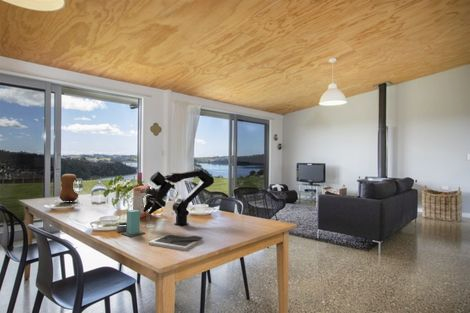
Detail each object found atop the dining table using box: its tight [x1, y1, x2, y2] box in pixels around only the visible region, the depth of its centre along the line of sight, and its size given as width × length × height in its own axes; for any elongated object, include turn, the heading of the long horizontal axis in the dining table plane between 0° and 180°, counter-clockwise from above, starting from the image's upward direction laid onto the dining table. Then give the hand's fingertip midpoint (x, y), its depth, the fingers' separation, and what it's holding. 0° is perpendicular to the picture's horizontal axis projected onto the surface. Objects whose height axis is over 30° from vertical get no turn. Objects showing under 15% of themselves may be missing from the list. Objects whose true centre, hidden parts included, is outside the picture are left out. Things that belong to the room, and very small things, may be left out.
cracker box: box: [132, 185, 152, 219], centre depth 195 cm, size 14×6×21 cm, turn 168°
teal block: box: [126, 209, 141, 235], centre depth 152 cm, size 5×5×12 cm
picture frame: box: [148, 233, 204, 252], centre depth 138 cm, size 16×3×21 cm
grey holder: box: [116, 221, 127, 233], centre depth 161 cm, size 9×9×3 cm
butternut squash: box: [59, 173, 79, 202], centre depth 245 cm, size 14×13×25 cm
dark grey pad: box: [120, 230, 146, 238], centre depth 152 cm, size 9×9×1 cm
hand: (146, 212), depth 160 cm, fingers open, 9 cm apart
